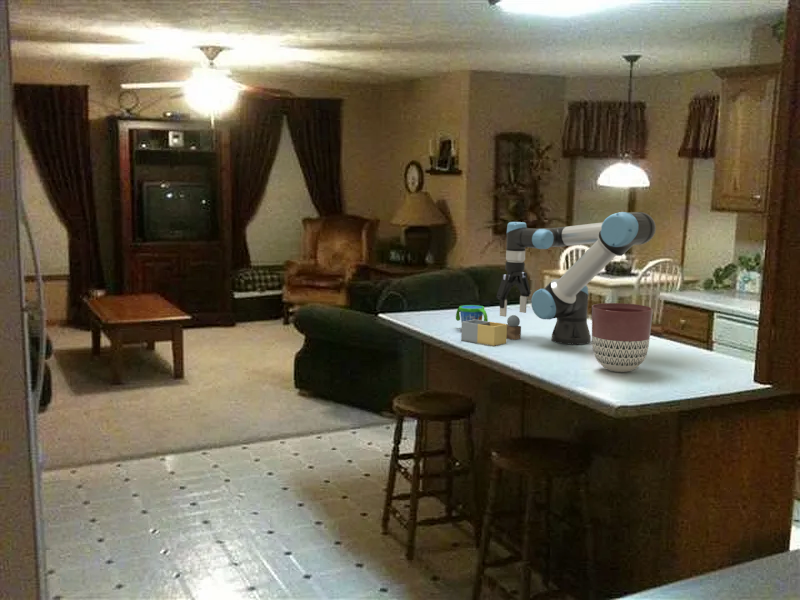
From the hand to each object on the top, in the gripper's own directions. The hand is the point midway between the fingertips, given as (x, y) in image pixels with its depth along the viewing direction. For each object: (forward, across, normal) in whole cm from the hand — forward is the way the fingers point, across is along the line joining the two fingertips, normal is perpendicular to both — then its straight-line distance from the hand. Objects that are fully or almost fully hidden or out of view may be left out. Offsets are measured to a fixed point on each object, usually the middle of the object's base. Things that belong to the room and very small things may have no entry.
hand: (513, 314), depth 330 cm
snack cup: (+10, -2, -22) cm, 25 cm away
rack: (+10, 0, -3) cm, 10 cm away
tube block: (+10, +14, -3) cm, 18 cm away
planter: (+9, +22, +59) cm, 63 cm away
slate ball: (+5, 0, 0) cm, 5 cm away
